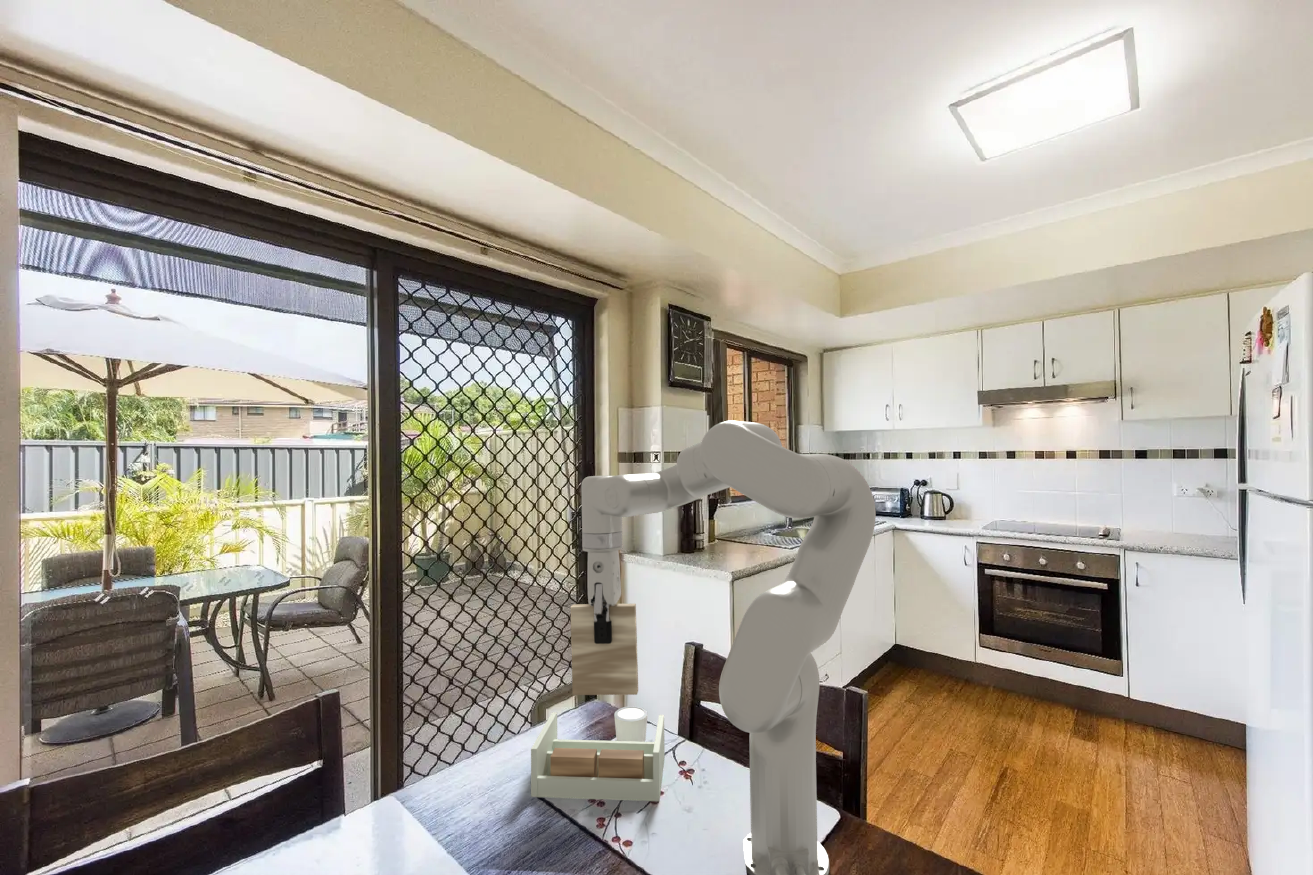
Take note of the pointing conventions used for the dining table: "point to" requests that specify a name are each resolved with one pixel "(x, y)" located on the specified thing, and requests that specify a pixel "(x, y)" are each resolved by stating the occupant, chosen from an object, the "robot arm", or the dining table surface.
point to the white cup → (631, 724)
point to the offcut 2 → (621, 764)
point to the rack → (597, 786)
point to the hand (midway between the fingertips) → (604, 640)
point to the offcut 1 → (574, 762)
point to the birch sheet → (604, 652)
